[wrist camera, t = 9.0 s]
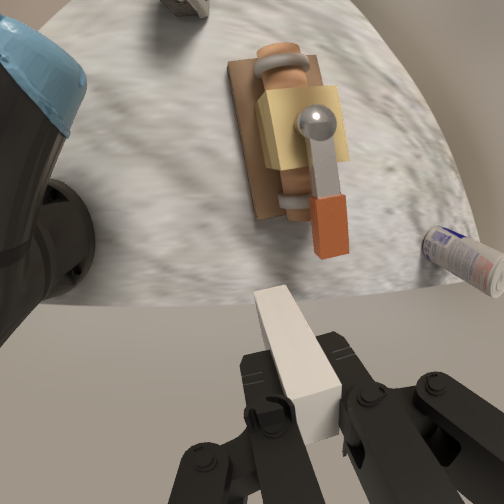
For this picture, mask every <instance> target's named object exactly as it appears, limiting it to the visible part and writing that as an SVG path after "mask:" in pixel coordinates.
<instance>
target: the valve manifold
mask: <svg viewBox="0 0 504 504" xmlns="http://www.w3.org/2000/svg"><path fill="white" fill-rule="evenodd" d="M257 56H258V58H255V59H246V60H238V61H231V62H228V66H227V69H228V74H229V79H230V84H231V89H232V94H233V99H234V104H235V110H236V115H237V120H238V125H239V130H240V136H241V141H242V146H243V151H244V157H245V162H246V167H247V173H248V178H249V183H250V189H251V194H252V199H253V205H254V210H255V216H256V218H257V219H258V220H262V219H266V218H271V217H276V216H281V215H286V214H287V219H288V220H291V221H311V216H310V207H309V199H308V197H310V196H313V194H312V186H311V178H310V171H309V163H308V156H307V150H306V143H305V140H304V139H302V138H301V137H300V136H299V135H298V133H297V132H296V129H295V124H294V123H295V118H296V115H297V114H298V113H299V112H300V111H301V110H303V109H305V108H307V107H309V106H311V105H315V104H319V105H324V106H326V107H328V108H329V109H330V110H331V111H332V112H333V113H334V115H335V117H336V120H337V129H336V132H335V134H334V135H333V138H334V144H335V152H336V159H337V162H343V161H350V160H349V153H348V146H347V140H346V133H345V127H344V121H343V116H342V110H341V105H340V100H339V95H338V90H337V85H334V86H323V83H322V78H321V74H320V69H319V65H318V61H317V57H316V55H304V54H301V52H300V48H299V46H298V45H297V44H294V43H276V44H271V45H268V46H265V47H262V48H261V49H259V50H258V51H257ZM339 185H340V184H339ZM340 194H341V192H340Z"/></svg>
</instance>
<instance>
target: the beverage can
mask: <svg viewBox="0 0 504 504" xmlns="http://www.w3.org/2000/svg"><path fill="white" fill-rule="evenodd" d="M423 250H424V254H425V256H426V258H427V259H429V260H431V261H432V262H434V263H436V264H437V265H439V266H441V267H443V268H444V269H446V270H448V271H449V272H451V273H453V274H454V275H456V276H458V277H459V278H461V279H463V280H464V281H466V282H467V283H469V284H471V285H472V286H474V287H475V288H477V289H479V290H480V291H482V292H483V293H485V294H486V295H488V296H491V297H492V298H493V299H496V298H498V297H500V296H501V295H502V293H503V292H504V254H503V253H501V252H498V251H497V250H494V249H492V248H490V247H488V246H486V245H484V244H481V243H479V242H477V241H475V240H473V239H470V238H468V237H466V236H463V235H461V234H459V233H456V232H454V231H452V230H449V229H447V228H444V227H442V226H435V227H433V228H432V229H431V230H430V231H429V232H428V233H427V235H426V237H425V240H424V245H423Z"/></svg>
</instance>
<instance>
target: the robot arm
mask: <svg viewBox="0 0 504 504" xmlns="http://www.w3.org/2000/svg"><path fill="white" fill-rule="evenodd" d="M86 90H87V78H86V75H85V72H84V70H83V69H82V67H81V66H80V65H79V64H78V63H77V61H76V60H75V59H74V58H73V57H71V56H70V55H69V54H68V53H67V52H66V51H65V50H63V49H62V48H61V47H59V46H58V45H57V44H55V43H54V42H53V41H51V40H50V39H48V38H47V37H46V36H44V35H42V34H41V33H39V32H38V31H36V30H34V29H32V28H31V27H29V26H27V25H26V24H24V23H22V22H20V21H18V20H15V19H13V18H11V17H6V16H3V15H1V14H0V347H1V346H2V345H3V343H4V342H5V341H6V340H7V339H8V338H9V336H10V335H11V334H12V333H13V332H14V331H15V329H16V328H17V327H18V326H19V325H20V324H21V322H22V321H23V320H24V319H25V318H26V317H27V316H28V315H29V314H30V313H31V311H32V310H33V309H34V308H35V307H36V306H37V305H38V304H39V303H40V302H41V301H42V300H45V299H49V298H52V297H55V296H59V295H62V294H64V293H66V292H68V291H70V290H71V289H73V288H74V287H75V286H76V285H77V284H78V283H79V282H80V281H81V280H82V279H83V278H84V276H85V275H86V274H87V272H88V270H89V268H90V266H91V263H92V260H93V256H94V249H95V236H94V229H93V224H92V221H91V218H90V215H89V212H88V210H87V208H86V206H85V204H84V203H83V201H82V200H81V198H80V197H79V196H78V195H77V193H76V192H75V191H74V190H73V189H71V188H70V187H69V186H67V185H66V184H64V183H63V182H60V181H58V180H55V179H50V177H51V174H52V171H53V169H54V166H55V164H56V161H57V159H58V156H59V154H60V151H61V149H62V147H63V145H64V142H65V140H66V138H67V139H68V138H69V136H70V133H71V132H70V128H71V125H72V123H73V120H74V118H75V116H76V113H77V111H78V109H79V107H80V105H81V102H82V100H83V98H84V96H85V93H86ZM253 293H254V298H255V303H256V308H257V313H258V318H259V322H260V327H261V332H262V337H263V341H264V344H265V348H266V351H261V352H257V353H252V354H248V355H244V356H243V359H242V361H241V363H240V371H241V376H242V382H243V388H244V393H245V400H246V408H245V409H244V419H245V422H246V425H247V427H246V429H245V430H244V432H243V433H242V434H241V435H239V436H238V437H237V438H235V439H233V440H231V441H229V442H227V443H225V444H222V445H220V446H219V445H218V444H215V443H210V442H207V443H206V442H205V443H199V444H196V445H194V446H191V447H190V448H189V449H188V450H187V451H185V453H184V455H183V457H182V458H181V462H180V465H179V468H178V471H177V475H176V478H175V481H174V485H173V488H172V492H171V495H170V498H169V502H168V504H247V499H248V495H250V494H252V493H254V492H256V491H258V490H261V494H262V499H263V504H325V501H324V498H323V496H322V493H321V490H320V487H319V484H318V481H317V478H316V476H315V473H314V470H313V467H312V464H311V461H310V459H309V456H308V453H307V450H306V447H305V445H307V444H310V443H314V442H317V441H320V440H323V439H327V438H330V437H332V436H335V435H339V427H340V429H341V431H342V433H343V435H344V443H343V451H342V452H343V457H344V456H346V454H348V456H349V458H350V460H351V463H352V465H353V467H354V469H355V471H356V474H357V476H358V478H359V481H360V483H361V485H362V487H363V489H364V492H365V494H366V496H367V498H368V501H369V503H370V504H465V503H464V501H463V500H462V498H461V497H460V495H459V493H458V492H457V490H458V491H459V492H460V493H461V494H462V495H464V496H465V497H466V498H467V499H468V500H469V501H471V502H472V503H473V504H504V413H503V412H502V411H500V410H498V409H497V408H496V407H494V406H493V405H491V404H490V403H488V402H487V401H485V400H484V399H483V398H481V397H479V396H478V395H477V394H475V393H474V392H472V391H471V390H469V389H468V388H466V387H465V386H464V385H462V384H461V383H459V382H458V381H456V380H455V379H453V378H452V377H450V376H448V375H447V374H445V373H442V372H430V373H427V374H425V375H423V376H421V378H420V379H419V380H418V381H417V384H416V386H410V387H405V388H396V389H392V388H387V387H386V386H385V385H383V384H381V383H378V382H375V381H374V380H373V379H372V377H371V376H370V374H369V373H368V371H367V370H366V368H365V367H364V365H363V364H362V362H361V361H360V360H359V358H358V357H357V355H355V352H354V351H353V350H352V348H350V345H349V344H348V342H347V341H346V340H345V338H344V337H343V336H341V335H339V334H337V333H336V332H334V331H333V332H330V333H326V334H323V335H320V336H316V337H315V336H314V334H313V332H312V331H311V329H310V327H309V325H308V323H307V322H306V320H305V318H304V316H303V315H302V313H301V311H300V309H299V307H298V306H297V304H296V302H295V300H294V299H293V297H292V295H291V293H290V292H289V290H288V288H287V286H286V285H281V286H276V287H272V288H268V289H263V290H259V291H255V292H253ZM456 489H457V490H456Z"/></svg>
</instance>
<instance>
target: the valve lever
mask: <svg viewBox="0 0 504 504" xmlns="http://www.w3.org/2000/svg"><path fill="white" fill-rule="evenodd" d="M294 124H295V129H296V132H297V133H298V135H299V136H300V137H301V138H302V139H304V140H305V143H306V150H307V156H308V163H309V171H310V178H311V186H312V194H313V196H310V197H308V199H309V207H310V216H311V225H312V234H313V244H314V253H315V254H316V255H317V256H318V257H319V258H320V259H321V260H322V259H326V258H331V257H335V256H340V255H344V254H349V238H348V222H347V208H346V197H345V195H343V194H340V185H339V176H338V167H337V159H336V152H335V144H334V138H333V135H334V134H335V132H336V129H337V120H336V117H335V115H334V113H333V112H332V111H331V110H330V109H329V108H328V107H326V106H324V105H319V104H315V105H311V106H309V107H307V108H305V109H303V110H301V111H300V112H299V113H298V114H297V115H296V118H295V123H294Z"/></svg>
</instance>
